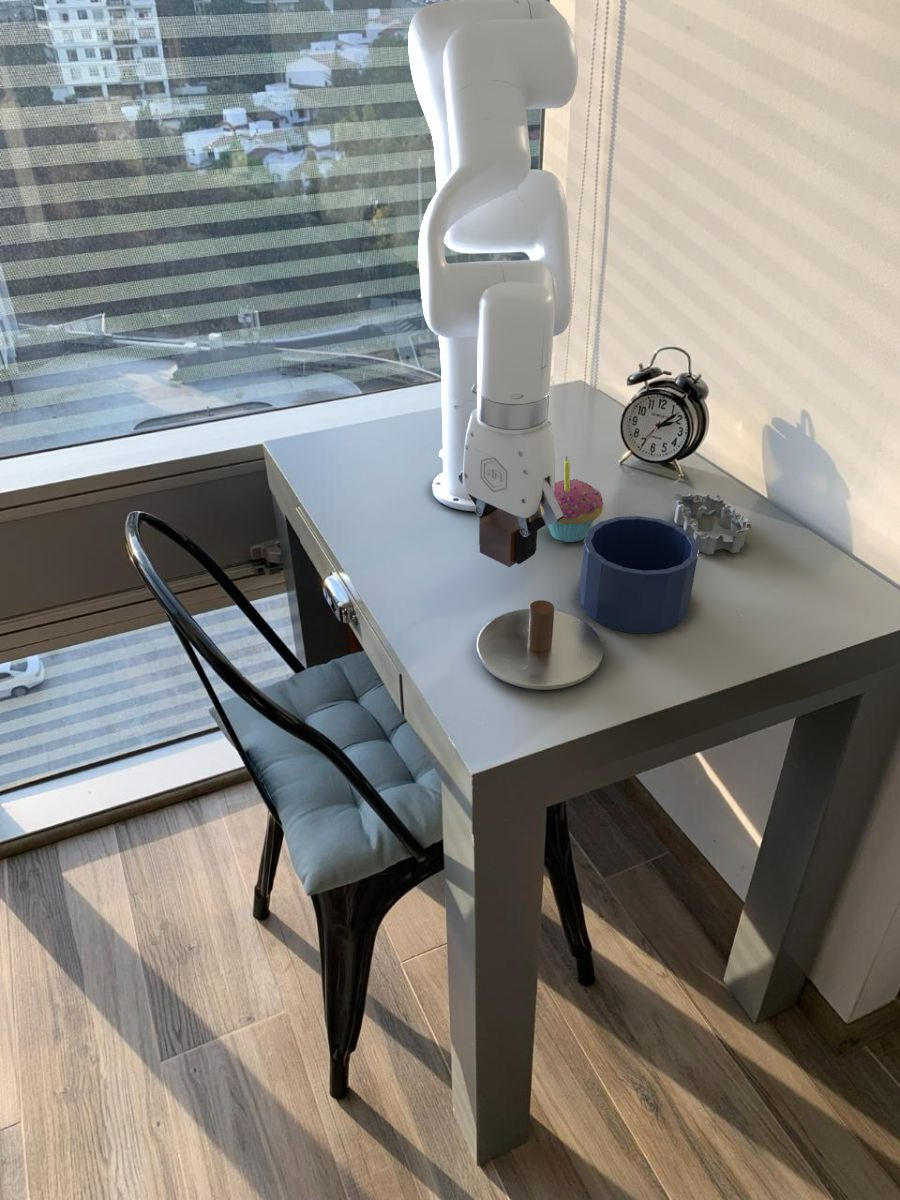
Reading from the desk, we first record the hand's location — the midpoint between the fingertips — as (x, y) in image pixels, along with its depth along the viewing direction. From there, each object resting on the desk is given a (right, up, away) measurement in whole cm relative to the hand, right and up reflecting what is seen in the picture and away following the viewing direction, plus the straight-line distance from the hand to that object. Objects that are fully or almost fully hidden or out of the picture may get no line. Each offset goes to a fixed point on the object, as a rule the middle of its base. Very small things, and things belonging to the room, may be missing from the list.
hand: (507, 548), depth 105 cm
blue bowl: (+15, -6, 0) cm, 16 cm away
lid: (+3, -11, -8) cm, 14 cm away
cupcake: (+9, +3, +14) cm, 16 cm away
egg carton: (+27, +3, +13) cm, 30 cm away
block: (0, 0, 0) cm, 0 cm away
